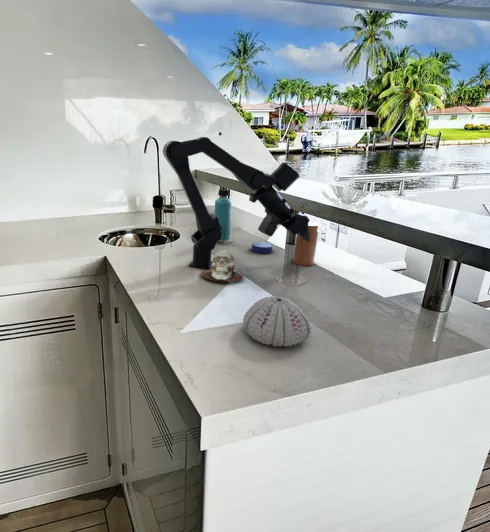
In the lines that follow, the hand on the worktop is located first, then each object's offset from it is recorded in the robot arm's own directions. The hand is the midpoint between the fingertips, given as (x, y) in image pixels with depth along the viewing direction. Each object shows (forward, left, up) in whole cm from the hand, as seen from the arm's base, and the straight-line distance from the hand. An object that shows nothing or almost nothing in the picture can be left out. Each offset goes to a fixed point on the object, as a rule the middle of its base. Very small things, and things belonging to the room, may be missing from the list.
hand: (301, 236), depth 121 cm
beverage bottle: (+14, +28, -9) cm, 33 cm away
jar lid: (+9, +12, -7) cm, 17 cm away
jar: (+1, -2, -9) cm, 9 cm away
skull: (-23, +20, -9) cm, 32 cm away
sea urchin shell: (-52, +3, -9) cm, 53 cm away
